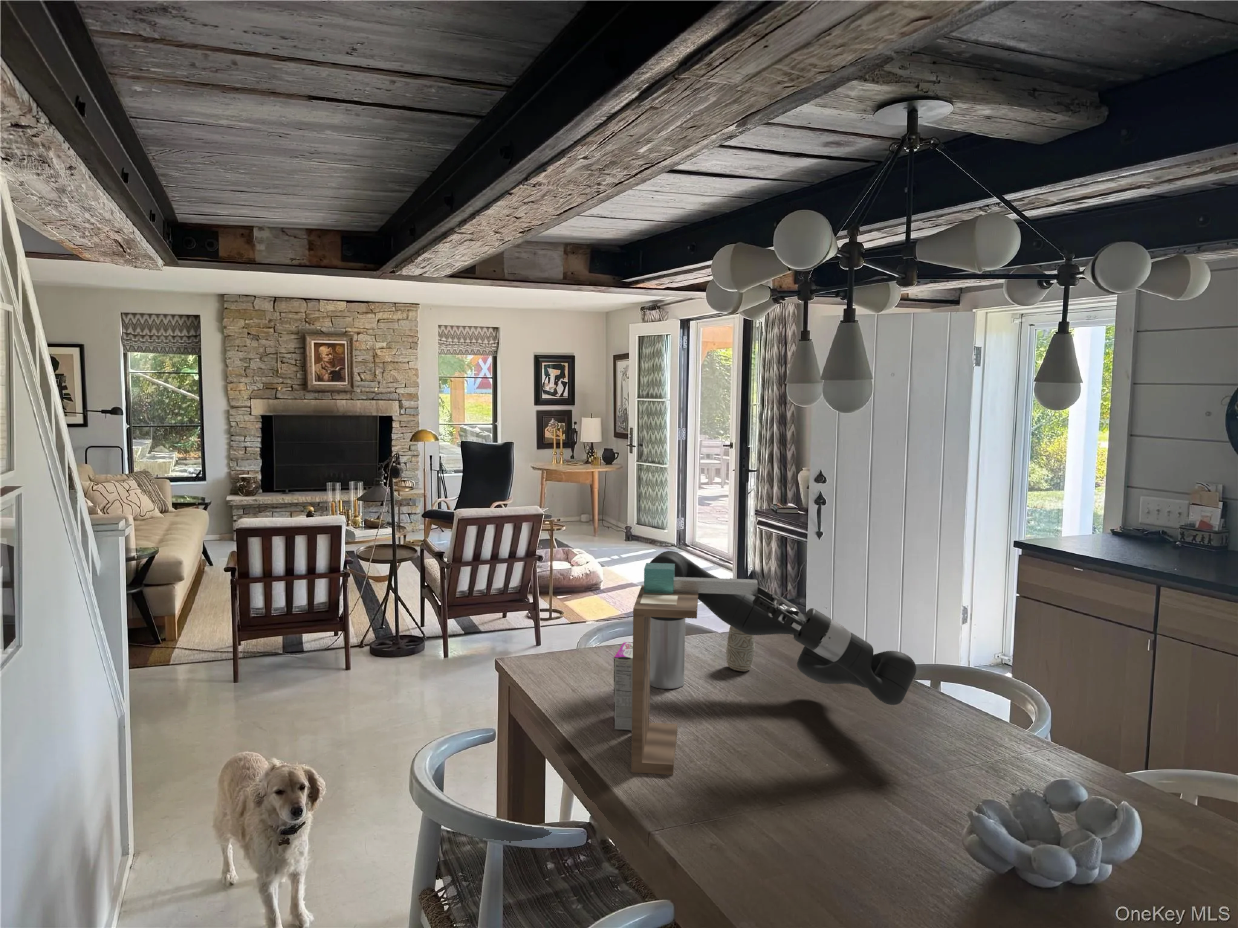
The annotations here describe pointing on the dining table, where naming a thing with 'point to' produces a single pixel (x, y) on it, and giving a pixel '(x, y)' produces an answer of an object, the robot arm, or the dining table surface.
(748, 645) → the carving
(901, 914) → the dining table surface
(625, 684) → the candy bar box
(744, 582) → the grey and teal bar
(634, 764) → the bracket shelf
